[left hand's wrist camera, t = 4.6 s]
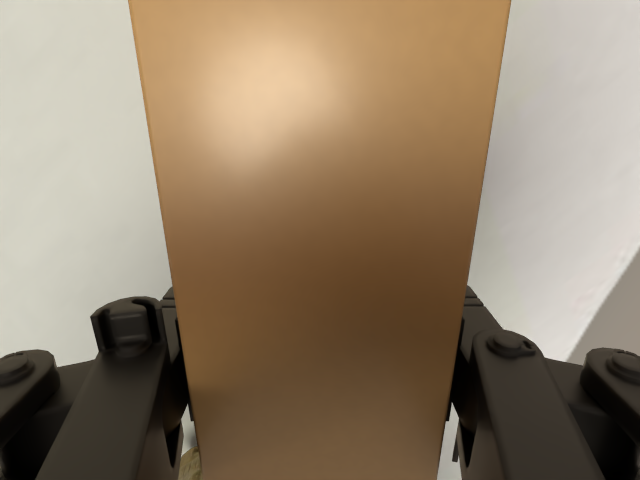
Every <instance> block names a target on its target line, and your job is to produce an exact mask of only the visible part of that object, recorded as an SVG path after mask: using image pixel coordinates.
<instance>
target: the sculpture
mask: <svg viewBox="0 0 640 480" xmlns="http://www.w3.org/2000/svg"><path fill="white" fill-rule="evenodd" d="M178 480H203V477H202V471H201V465H200V458H199V452H198V446H196V447H193V448H191V449H190V450H189V451H187V452H186V453H185V454H184V455H183V456H182V457H181V461H180V469H179V477H178Z"/></svg>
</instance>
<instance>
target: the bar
mask: <svg viewBox="0 0 640 480" xmlns="http://www.w3.org/2000/svg"><path fill="white" fill-rule="evenodd" d="M128 3H129V9H130V15H131V22H132V28H133V35H134V41H135V48H136V54H137V60H138V67H139V73H140V80H141V86H142V92H143V99H144V105H145V112H146V118H147V125H148V131H149V137H150V144H151V150H152V157H153V163H154V169H155V176H156V182H157V189H158V195H159V202H160V208H161V214H162V221H163V227H164V234H165V240H166V246H167V253H168V259H169V266H170V272H171V279H172V285H173V291H174V298H175V304H176V311H177V317H178V323H179V330H180V336H181V343H182V349H183V356H184V362H185V368H186V375H187V381H188V388H189V394H190V400H191V407H192V413H193V420H194V426H195V433H196V439H197V445H198V452H199V458H200V465H201V471H202V477H203V480H437V474H438V468H439V461H440V455H441V448H442V442H443V435H444V429H445V423H446V416H447V410H448V403H449V397H450V391H451V384H452V378H453V371H454V365H455V358H456V352H457V346H458V339H459V333H460V326H461V320H462V313H463V307H464V301H465V294H466V288H467V281H468V275H469V268H470V262H471V256H472V249H473V243H474V236H475V230H476V223H477V217H478V211H479V204H480V198H481V191H482V185H483V178H484V172H485V166H486V159H487V153H488V146H489V140H490V134H491V127H492V121H493V114H494V108H495V101H496V95H497V89H498V82H499V76H500V69H501V63H502V56H503V50H504V44H505V37H506V31H507V24H508V18H509V11H510V5H511V0H128Z"/></svg>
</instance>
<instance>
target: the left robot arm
mask: <svg viewBox="0 0 640 480" xmlns="http://www.w3.org/2000/svg"><path fill="white" fill-rule="evenodd" d="M90 318H91V322H92V326H93V330H94V334H95V338H96V342H97V346H98V350H99V353H98V355H97V357H96V359H94V360H91V361H87V362H82V363H77V364H72V365H66V366H61V367H57V365H56V362H55V359H54V356H53V355H52V354H51V353H50V352H48V351H44V350H38V349H37V350H27V351H20V352H16V353H12V354H9V355H6V356H4V357H3V358H0V480H178V477H179V469H180V461H181V453H182V445H183V437H184V435H183V428H182V422H181V418H182V416H183V413H184V411H185V409H186V406H187V404H188V406H189V413H190V419H191V421H194V420H193V413H192V407H191V400H190V394H189V388H188V381H187V375H186V368H185V362H184V356H183V349H182V343H181V336H180V330H179V323H178V317H177V311H176V304H175V298H174V291H173V287H171V288H170V289H169V290H168V292H167V293H166V294H165V295H164V297H163V300H161V301H160V302H159V301H158V300H157V299H155V298H151V297H146V296H143V297H129V298H124V299H120V300H117V301H114V302H111V303H108V304H106V305H104V306H103V307H101V308H99V309H97V310H96V311H95V312H94V313H93V314H92V315H91V316H90ZM452 403H453V405H454V407H455V410H456V412H457V414H458V417H459V422H458V428H457V434H456V440H455V445H454V451H453V458H452V461H453V462H457V461H458V456H459V460H460V468H461V476H462V480H640V356H637V355H636V354H634V353H631V352H628V351H624V350H620V349H611V348H597V349H592V350H591V351H590V352H588V353H587V354H586V358H585V361H584V364H583V366H582V365H577V364H572V363H567V362H562V361H557V360H552V359H548V358H544V356H543V354H542V352H541V350H540V349H539V348H538V347H537V345H536V344H535V343H534V342H532V341H531V340H529V339H528V338H526V337H525V336H522V335H520V334H517V333H515V332H512V331H508V330H503V329H502V327H501V326H500V325H499V324H498V322H497V321H496V320H495V318H494V317H493V316H492V315H491V313H490V312H489V311H488V309H487V308H486V307H485V306H484V304H483V303H482V302H481V301H480V299H479V298H477V295H476V294H475V293H474V292H473V290H472V289H471V288H470V287H469V286H468V285H467V288H466V294H465V301H464V307H463V313H462V320H461V326H460V333H459V339H458V346H457V352H456V358H455V365H454V371H453V378H452V384H451V391H450V397H449V403H448V410H447V416H446V421H449V417H450V411H451V405H452Z"/></svg>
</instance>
